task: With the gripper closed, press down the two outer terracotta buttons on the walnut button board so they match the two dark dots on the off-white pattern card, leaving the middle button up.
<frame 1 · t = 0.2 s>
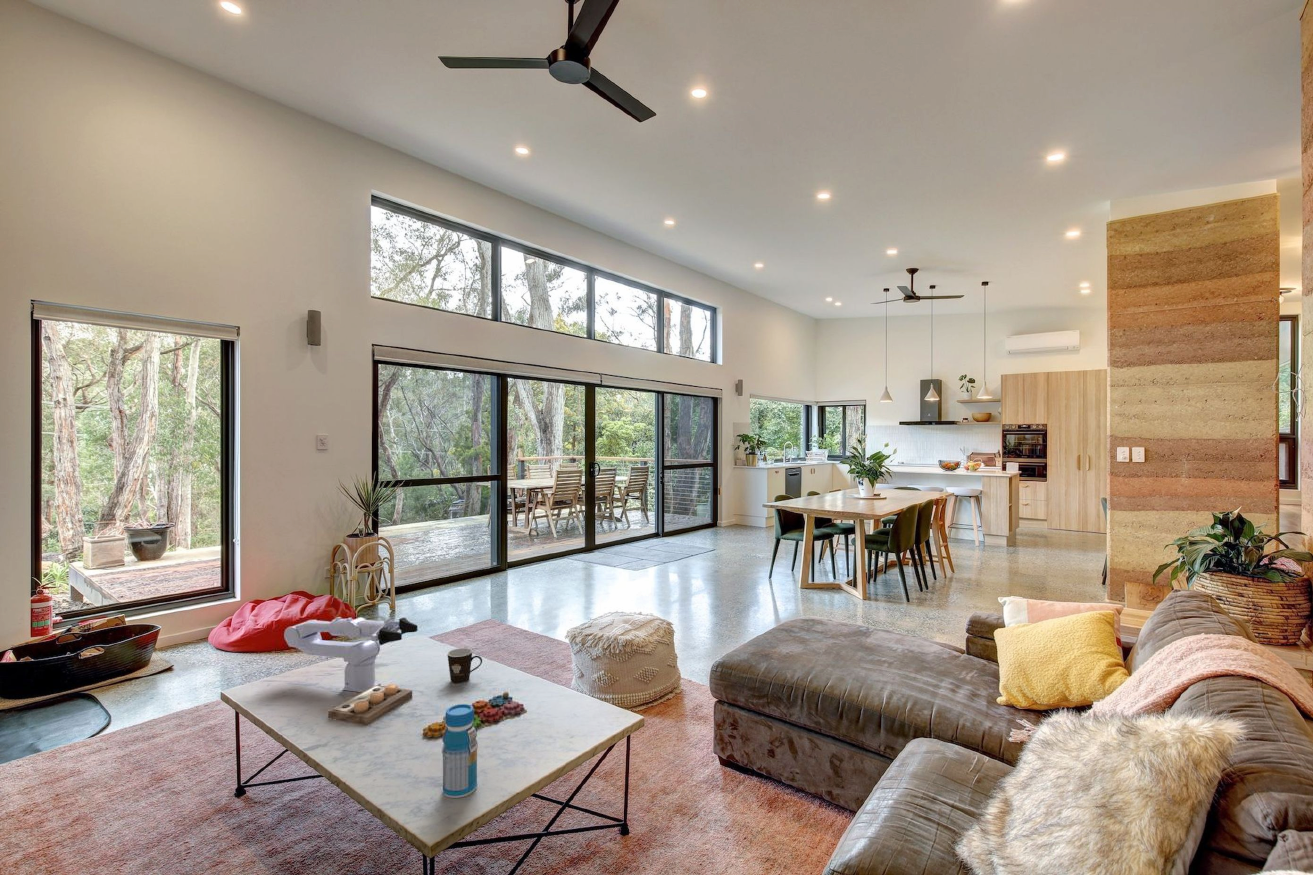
hand: (409, 632, 203), 21 cm above the table, tool horizontal, fingers open, 7 cm apart
beverage bottle: (460, 789, 149), on the table
button b: (376, 698, 193), point 3 cm above the table, slide at 0.0 cm
coffee mug: (463, 681, 215), on the table
button board: (371, 707, 194), on the table
button c: (391, 689, 199), point 3 cm above the table, slide at 0.0 cm
gear puzzle: (471, 721, 186), on the table
button a: (361, 706, 187), point 3 cm above the table, slide at 0.0 cm
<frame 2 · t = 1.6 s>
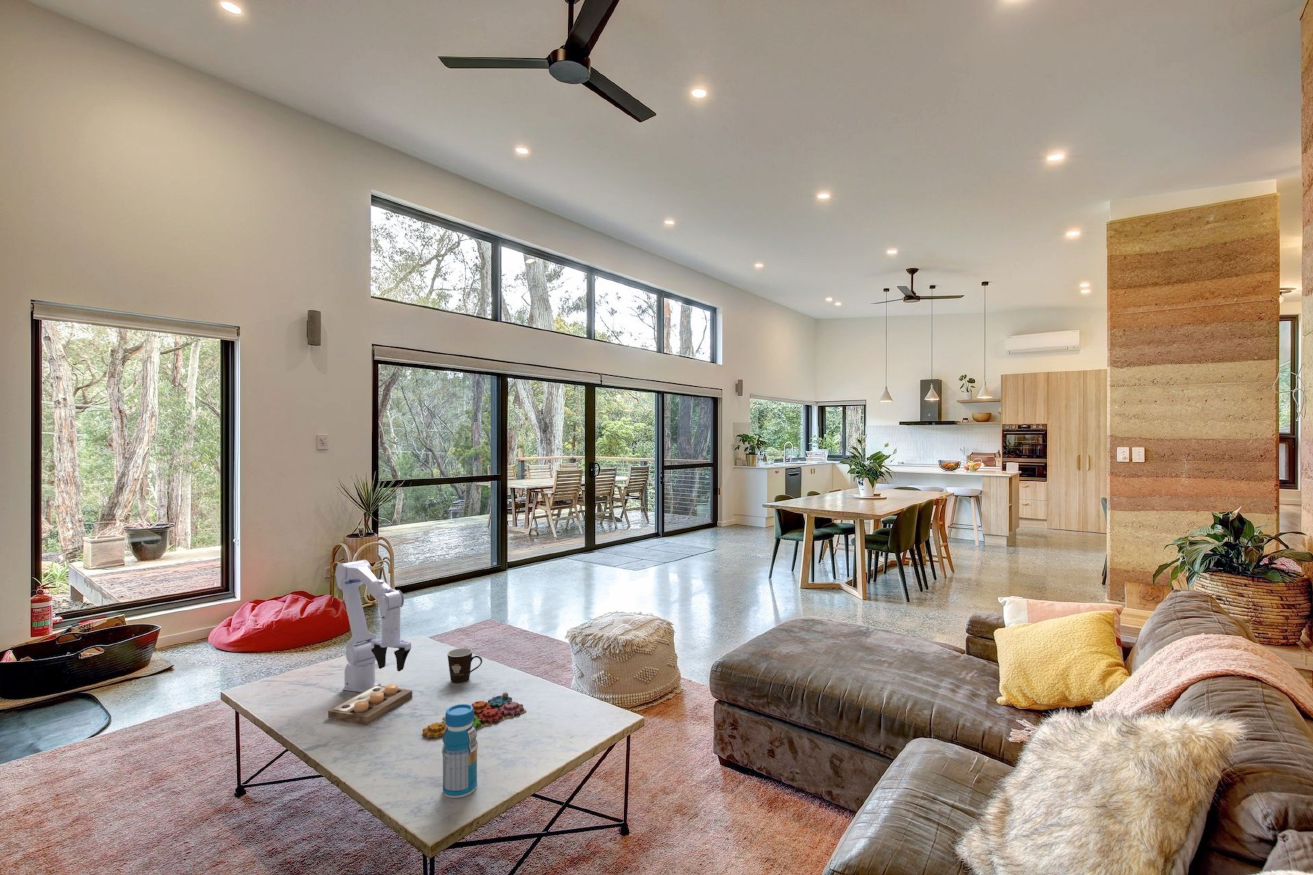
hand: (391, 668, 199), 10 cm above the table, tool pointing down, fingers open, 7 cm apart
nothing on the table moved.
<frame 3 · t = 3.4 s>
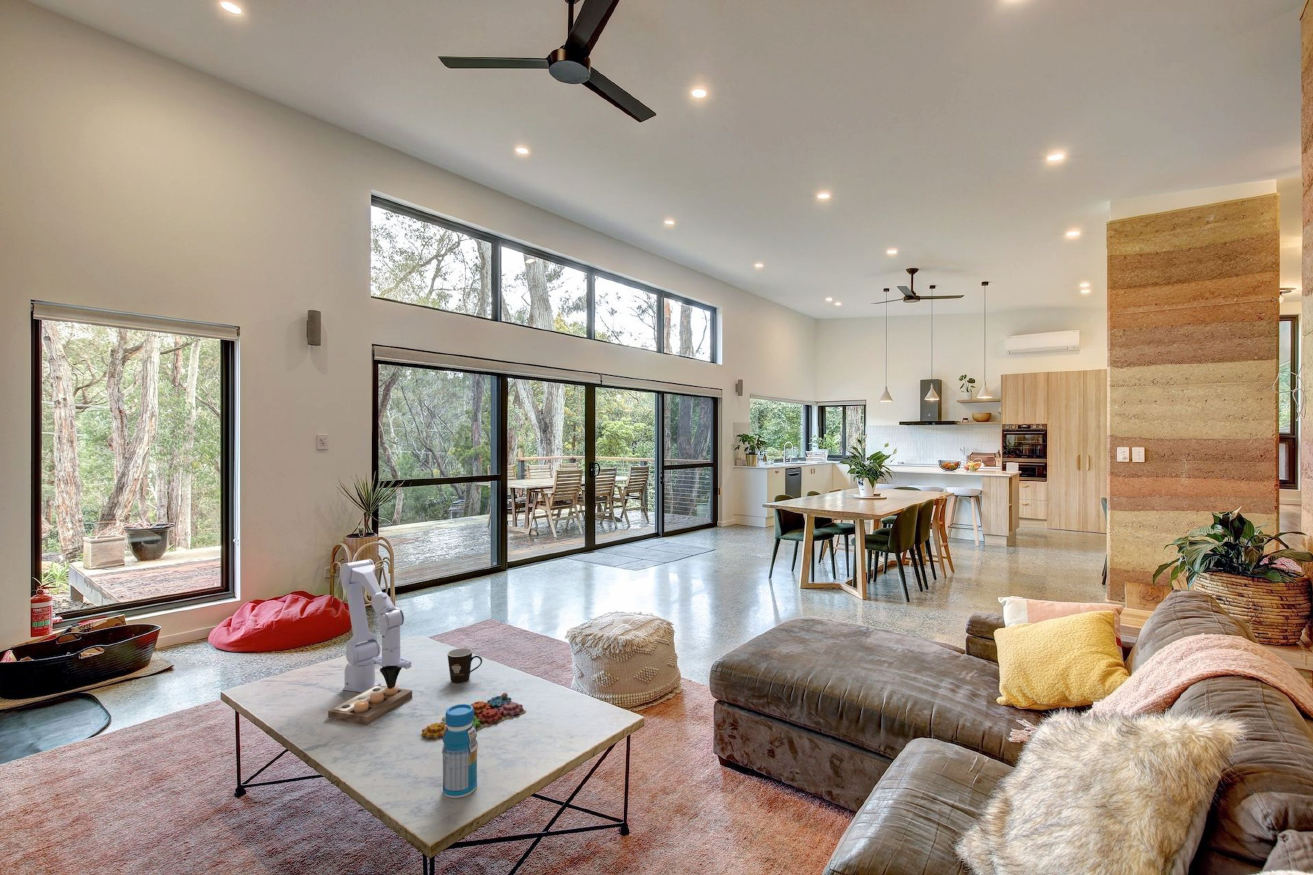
hand: (391, 687, 199), 4 cm above the table, tool pointing down, fingers closed, pressing on button c
button c: (391, 690, 199), point 3 cm above the table, slide at 0.3 cm, touching gripper
everything else where it was.
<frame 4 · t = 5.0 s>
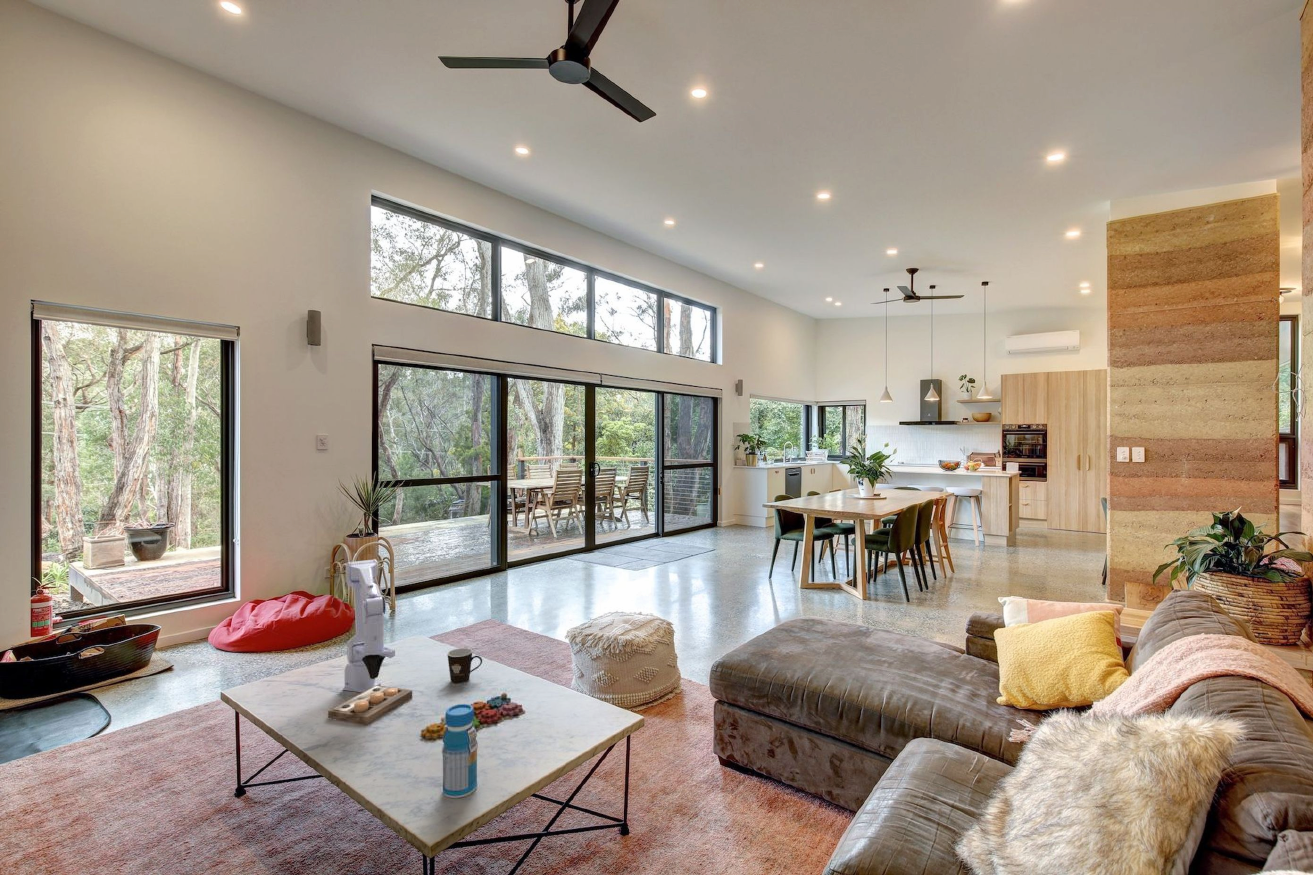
hand: (374, 677, 192), 11 cm above the table, tool pointing down, fingers closed
button c: (391, 693, 199), point 2 cm above the table, slide at 1.3 cm
everything else where it was.
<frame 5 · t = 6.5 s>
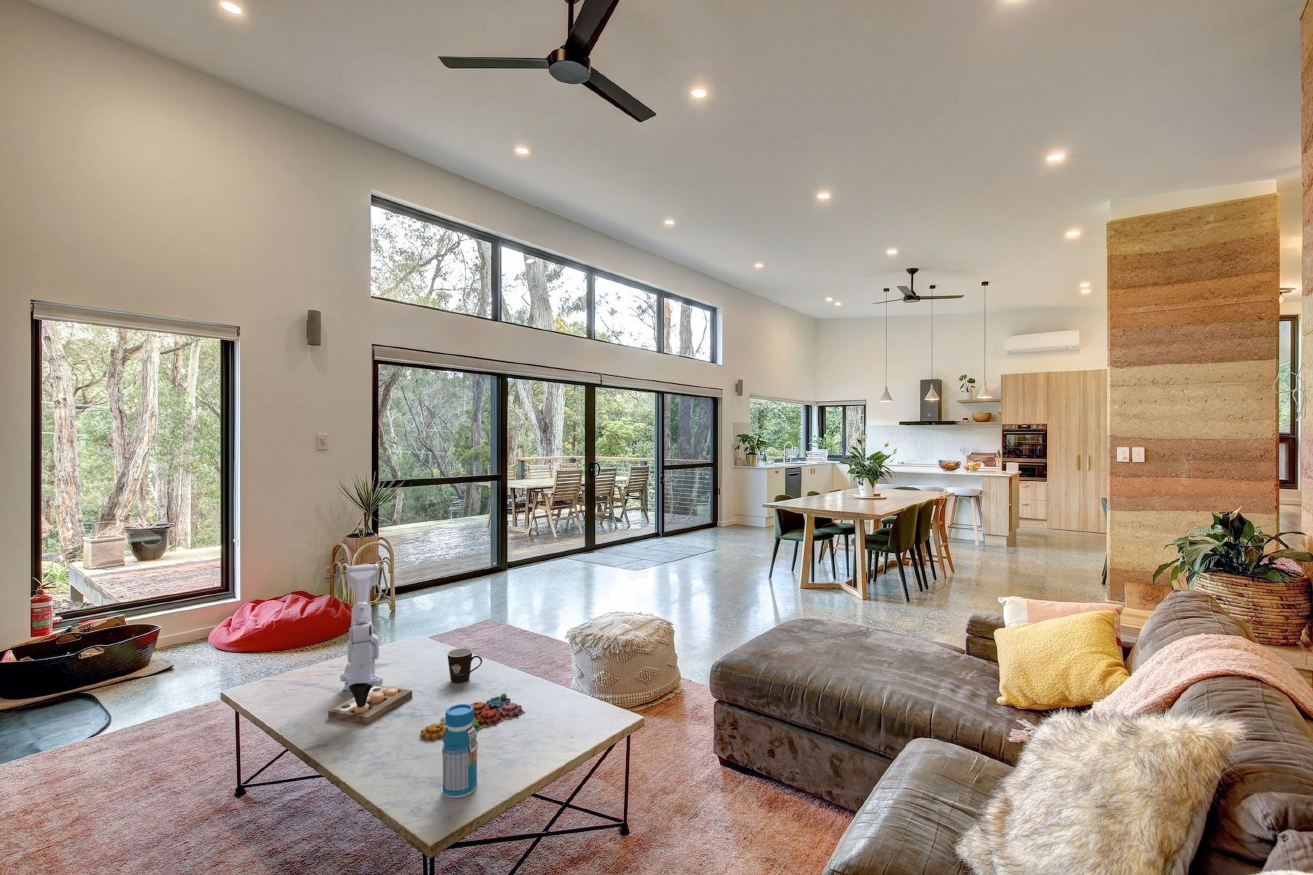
hand: (361, 706, 187), 4 cm above the table, tool pointing down, fingers closed, pressing on button a
button a: (361, 709, 187), point 3 cm above the table, slide at 0.8 cm, touching gripper
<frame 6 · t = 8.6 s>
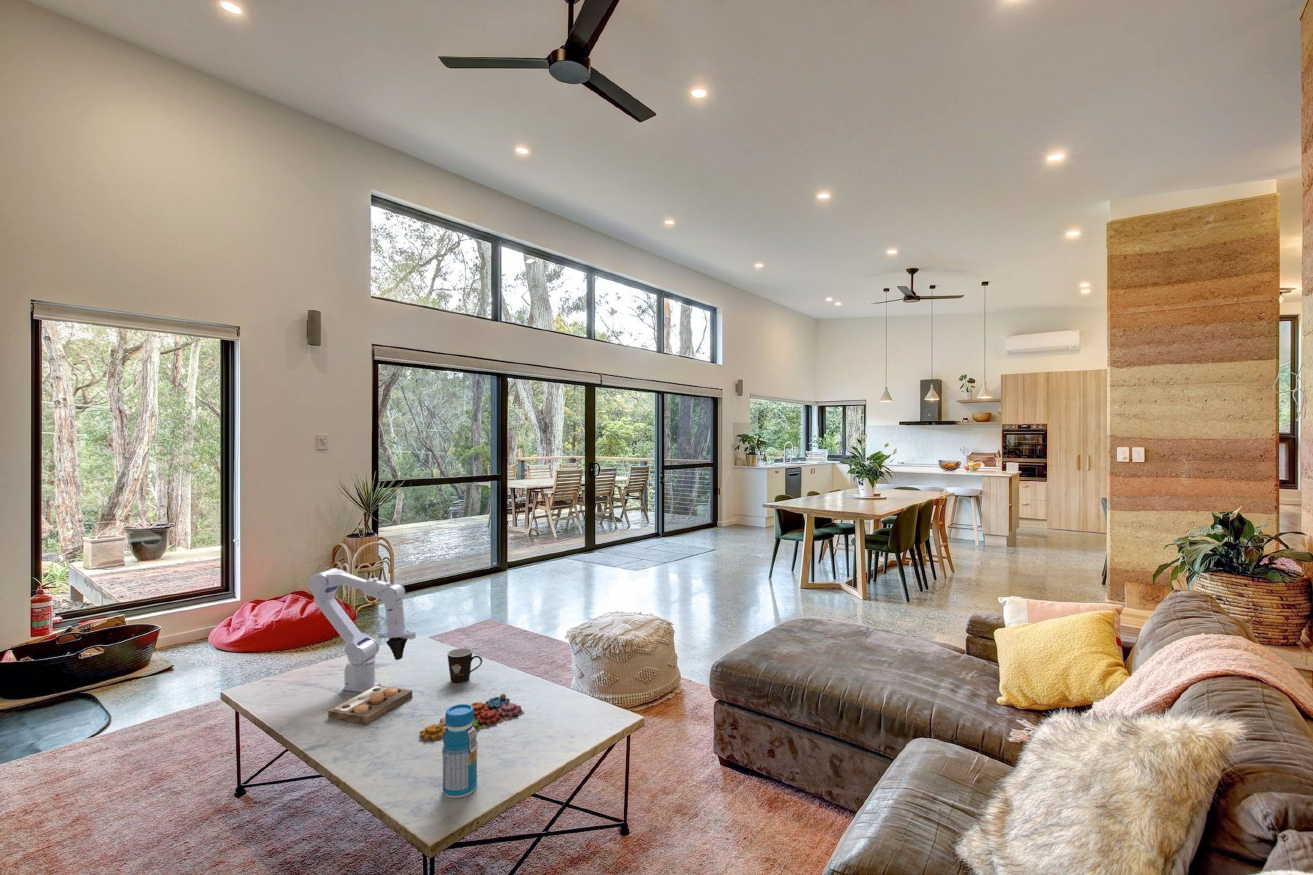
hand: (398, 658, 208), 10 cm above the table, tool pointing down, fingers closed
button a: (361, 710, 187), point 2 cm above the table, slide at 1.3 cm
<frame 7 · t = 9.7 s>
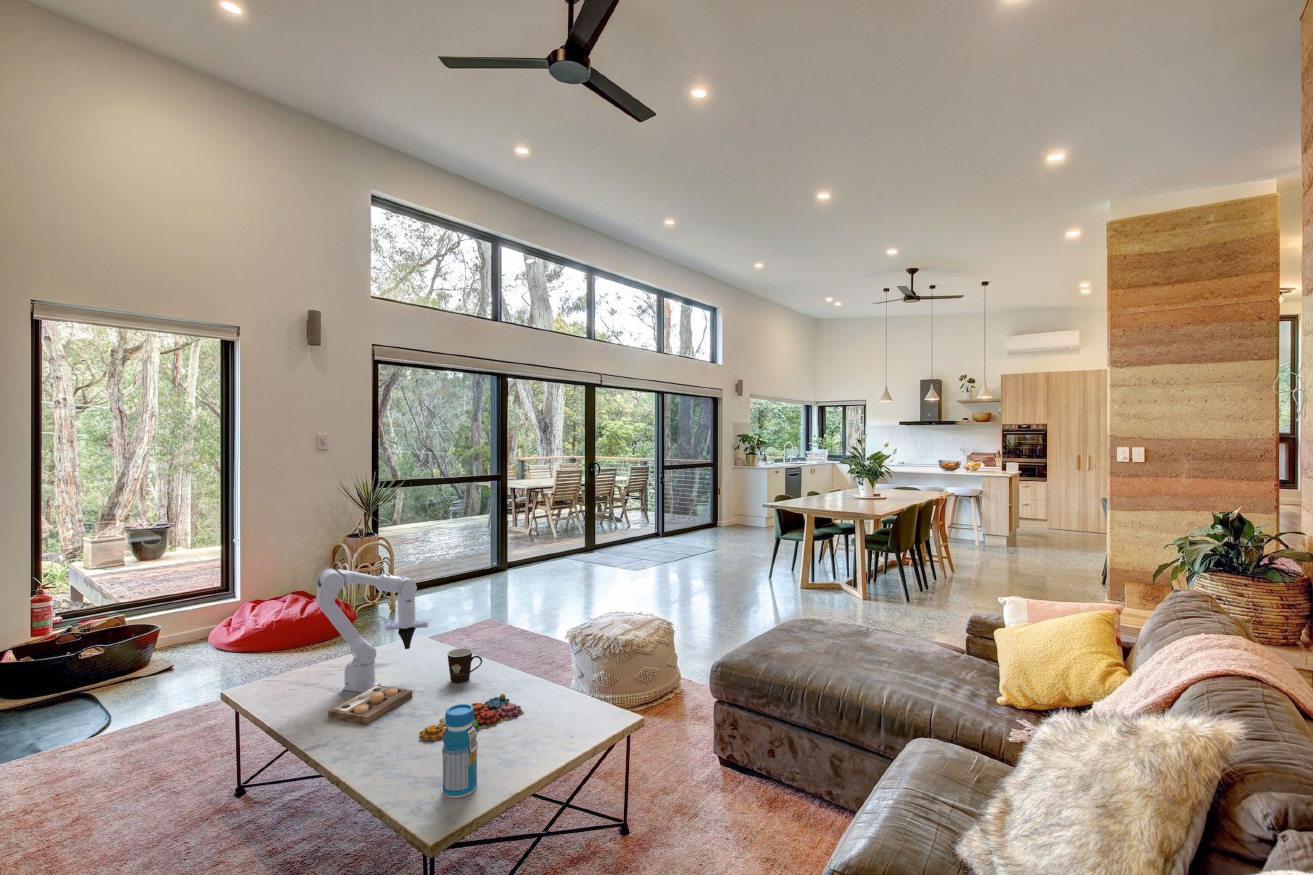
hand: (407, 648, 219), 10 cm above the table, tool pointing down, fingers closed
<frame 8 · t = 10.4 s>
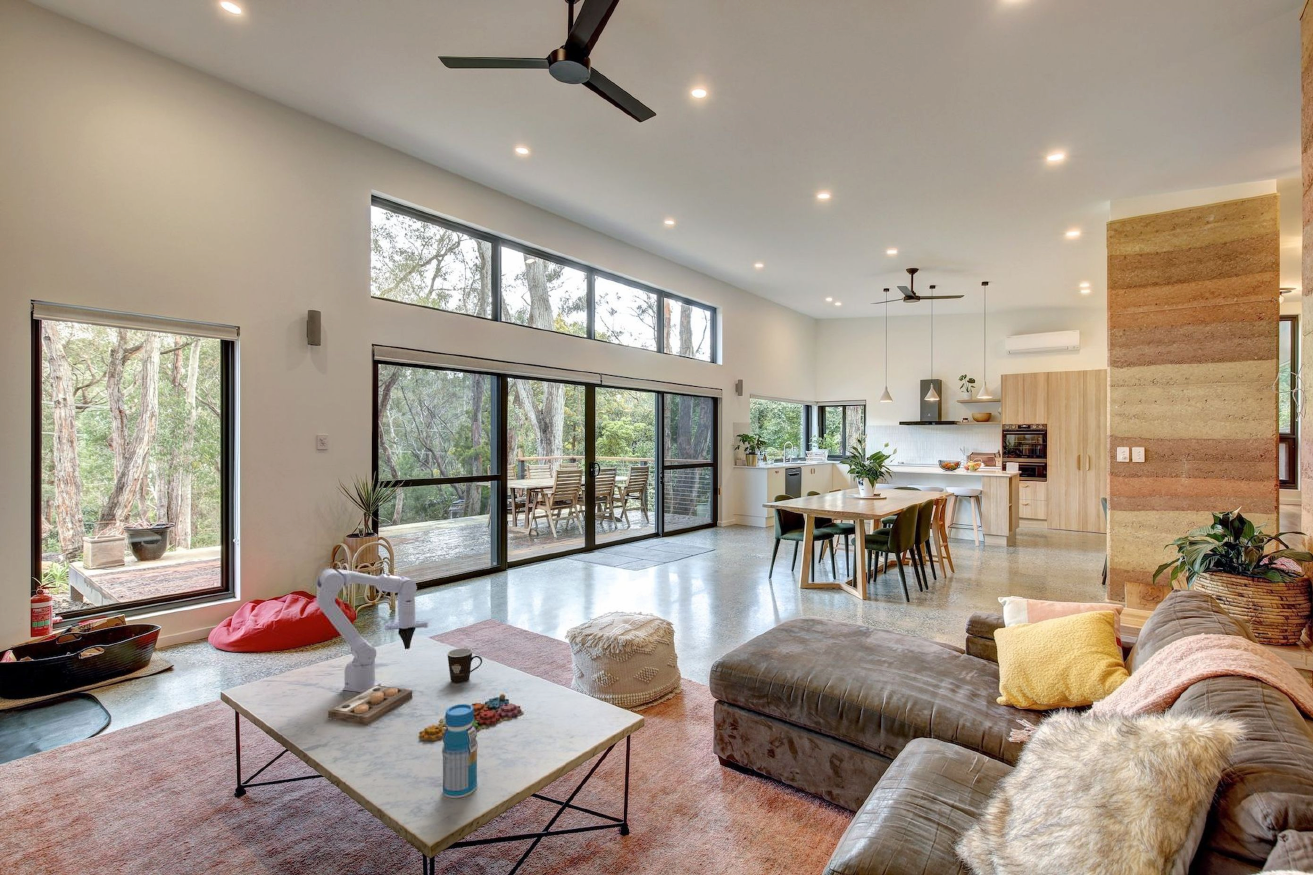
hand: (407, 648, 219), 10 cm above the table, tool pointing down, fingers closed
at the end: button a slide at 1.3 cm; button c slide at 1.3 cm; button b slide at 0.0 cm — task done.
